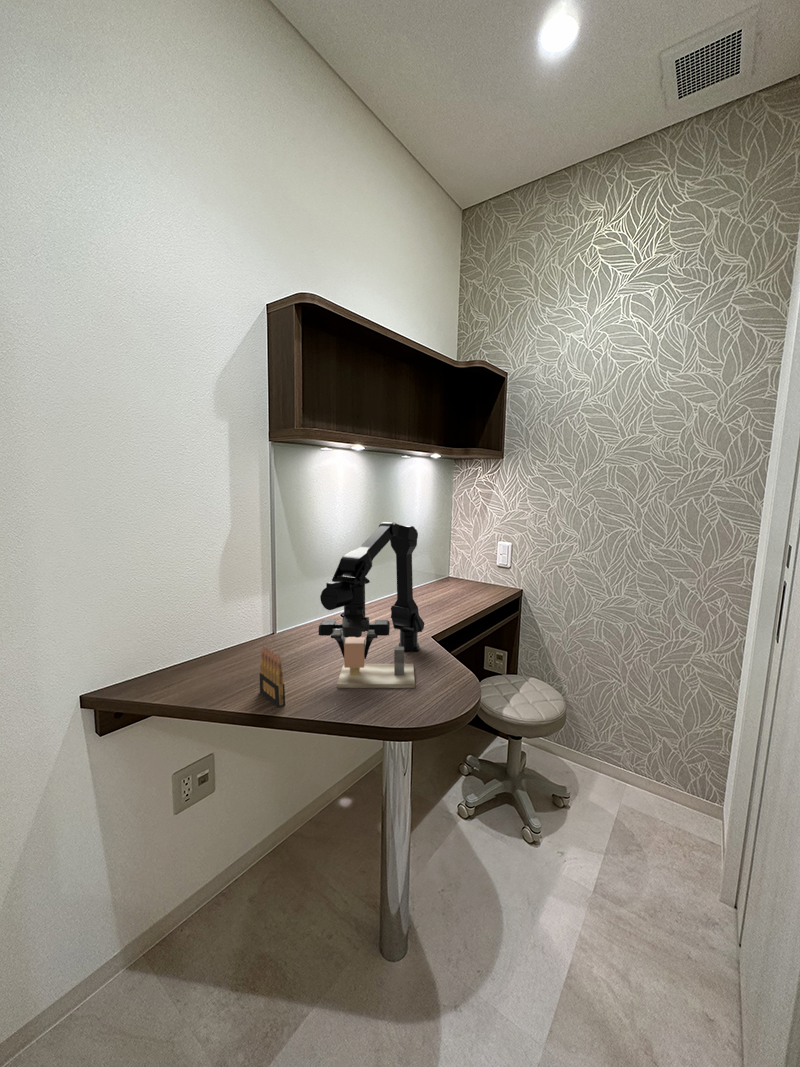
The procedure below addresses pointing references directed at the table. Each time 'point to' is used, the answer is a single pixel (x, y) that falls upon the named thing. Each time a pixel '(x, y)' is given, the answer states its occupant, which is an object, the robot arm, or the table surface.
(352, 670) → the post
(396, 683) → the post board
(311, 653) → the table surface
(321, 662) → the table surface
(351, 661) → the peach rectangular block
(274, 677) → the ammunition clip
